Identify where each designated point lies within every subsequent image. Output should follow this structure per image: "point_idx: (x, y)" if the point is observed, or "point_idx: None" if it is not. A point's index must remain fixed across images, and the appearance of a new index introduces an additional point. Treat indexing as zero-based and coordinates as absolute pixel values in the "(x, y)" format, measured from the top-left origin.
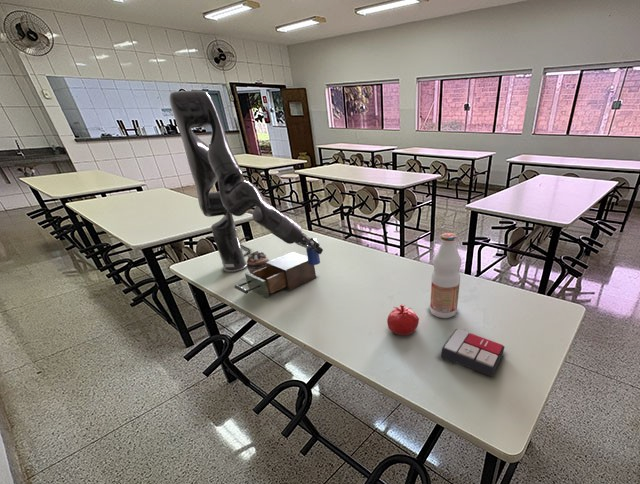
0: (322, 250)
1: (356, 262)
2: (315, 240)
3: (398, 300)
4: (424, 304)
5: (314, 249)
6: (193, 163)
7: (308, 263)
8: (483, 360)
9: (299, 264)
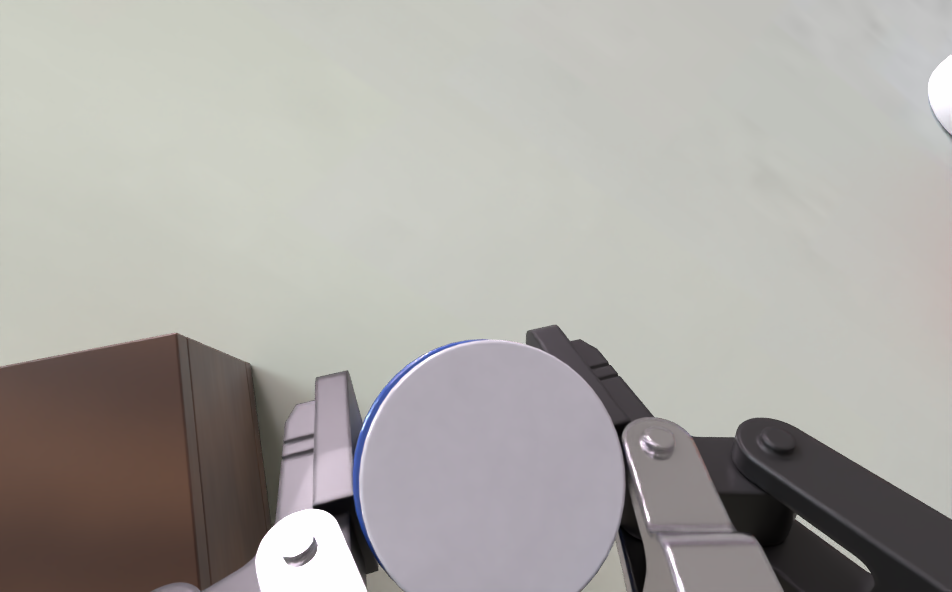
0: (580, 346)
1: (263, 40)
2: (581, 398)
3: (812, 175)
4: (897, 121)
5: (771, 556)
6: None
7: (197, 405)
8: None
9: (195, 527)
